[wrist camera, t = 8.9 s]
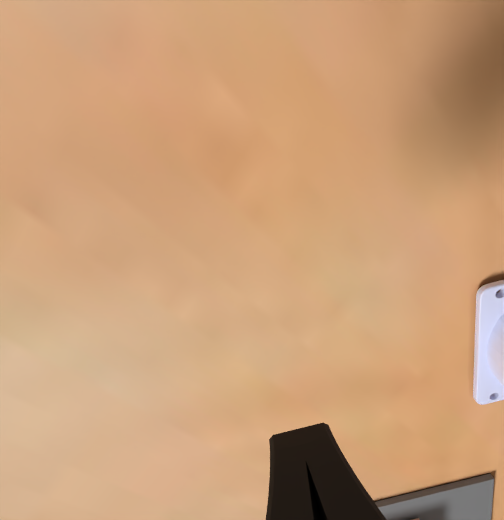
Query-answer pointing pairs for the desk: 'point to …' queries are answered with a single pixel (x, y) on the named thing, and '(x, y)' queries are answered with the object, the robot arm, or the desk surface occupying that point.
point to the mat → (444, 502)
